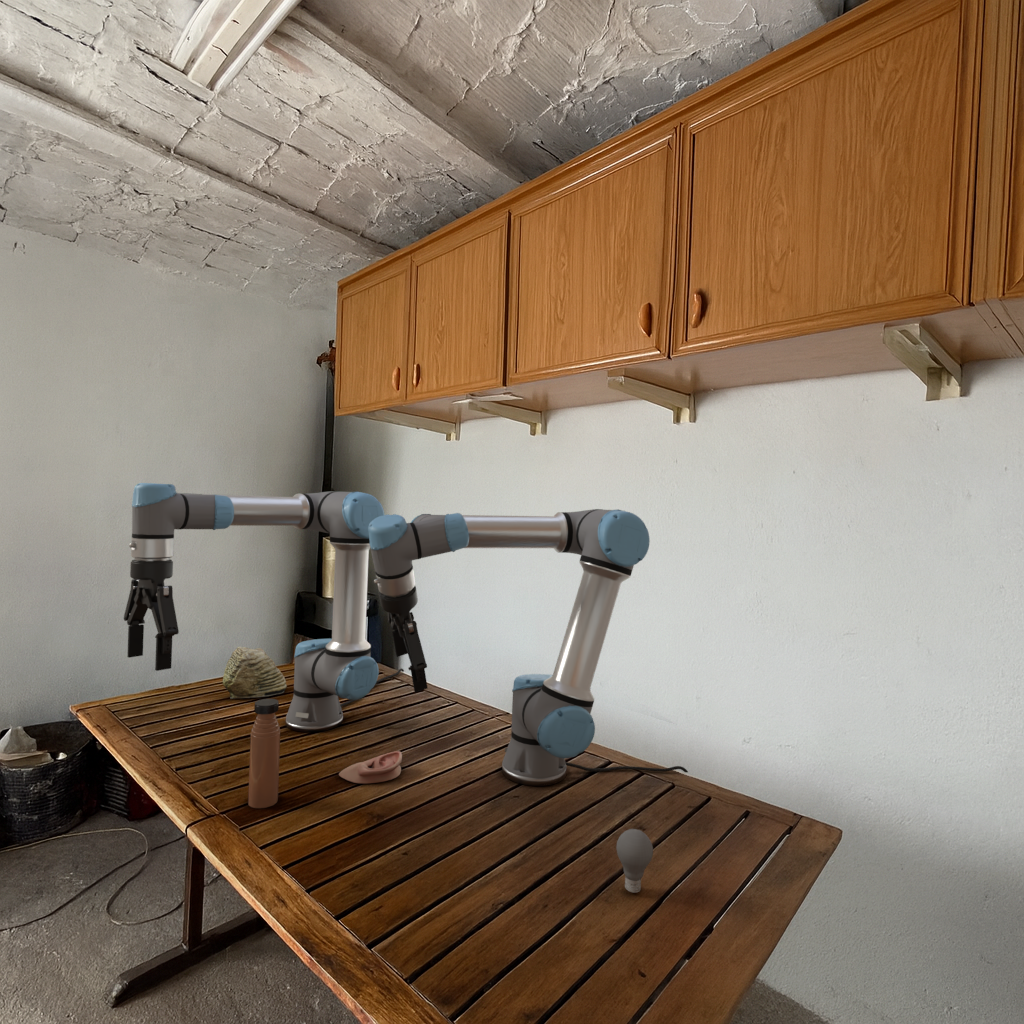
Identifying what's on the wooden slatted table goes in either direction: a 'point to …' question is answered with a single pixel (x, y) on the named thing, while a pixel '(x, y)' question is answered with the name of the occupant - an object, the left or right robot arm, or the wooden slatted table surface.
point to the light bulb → (634, 857)
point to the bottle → (264, 762)
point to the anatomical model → (374, 769)
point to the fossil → (252, 674)
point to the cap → (266, 706)
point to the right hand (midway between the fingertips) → (411, 671)
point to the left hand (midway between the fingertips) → (148, 662)
